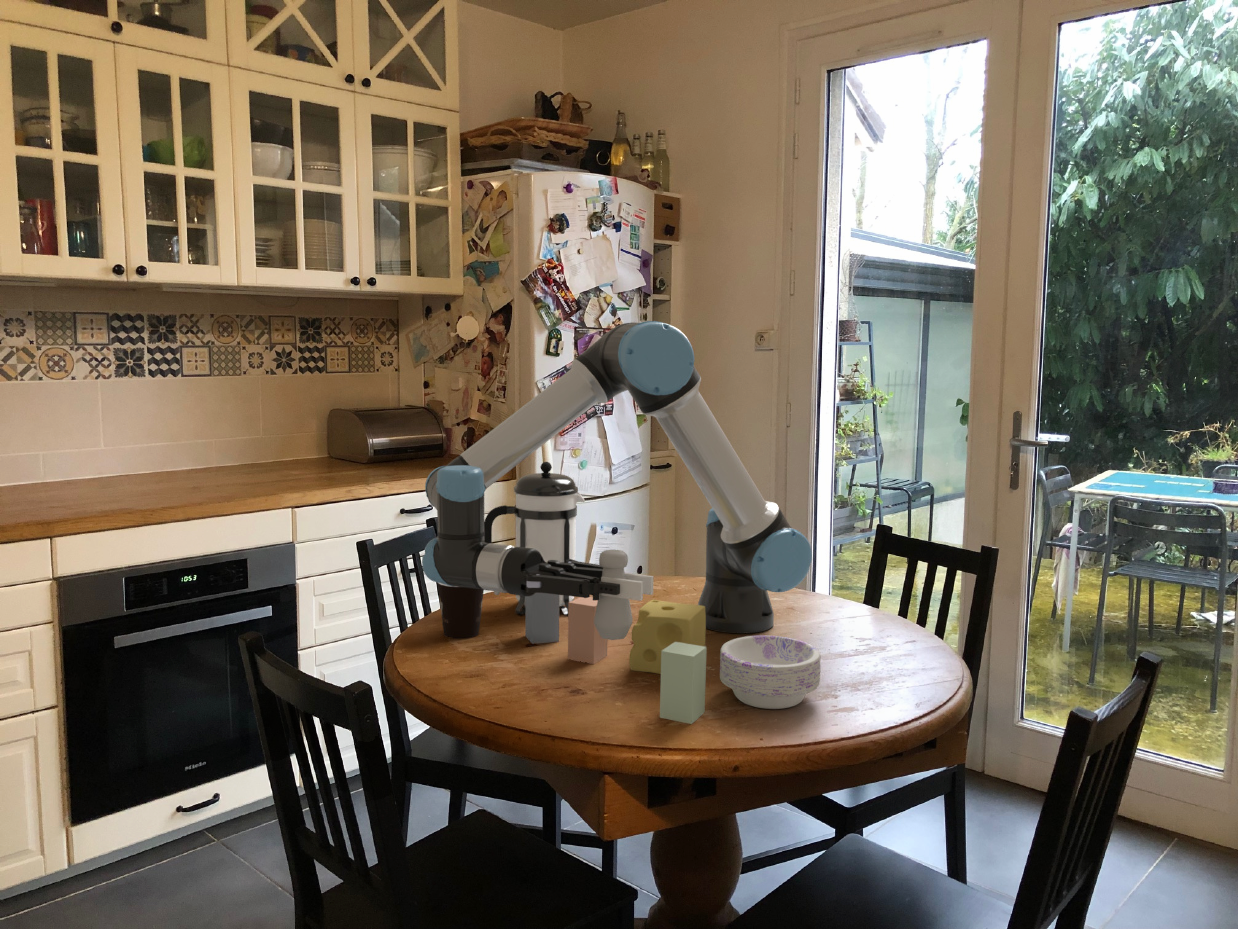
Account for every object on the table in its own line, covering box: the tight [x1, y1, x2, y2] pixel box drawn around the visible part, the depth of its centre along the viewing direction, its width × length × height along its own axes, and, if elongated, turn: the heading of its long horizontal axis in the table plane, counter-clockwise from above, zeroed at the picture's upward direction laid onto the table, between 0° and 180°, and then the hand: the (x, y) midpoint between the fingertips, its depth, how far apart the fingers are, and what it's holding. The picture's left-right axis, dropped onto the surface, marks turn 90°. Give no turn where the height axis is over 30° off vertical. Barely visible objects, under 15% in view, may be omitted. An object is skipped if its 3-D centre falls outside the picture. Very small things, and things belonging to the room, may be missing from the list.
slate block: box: [524, 593, 560, 645], centre depth 177 cm, size 5×5×10 cm
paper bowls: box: [719, 634, 822, 710], centre depth 149 cm, size 15×15×8 cm
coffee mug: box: [436, 582, 485, 640], centre depth 181 cm, size 12×9×10 cm
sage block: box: [659, 642, 708, 725], centre depth 142 cm, size 5×5×10 cm
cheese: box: [628, 599, 707, 675], centre depth 164 cm, size 10×11×10 cm
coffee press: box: [484, 461, 586, 616], centre depth 195 cm, size 17×16×30 cm
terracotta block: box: [567, 596, 609, 665], centre depth 167 cm, size 5×5×10 cm
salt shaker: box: [594, 549, 634, 641], centre depth 145 cm, size 6×6×13 cm
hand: (646, 588), depth 143 cm, fingers closed on salt shaker, 3 cm apart
